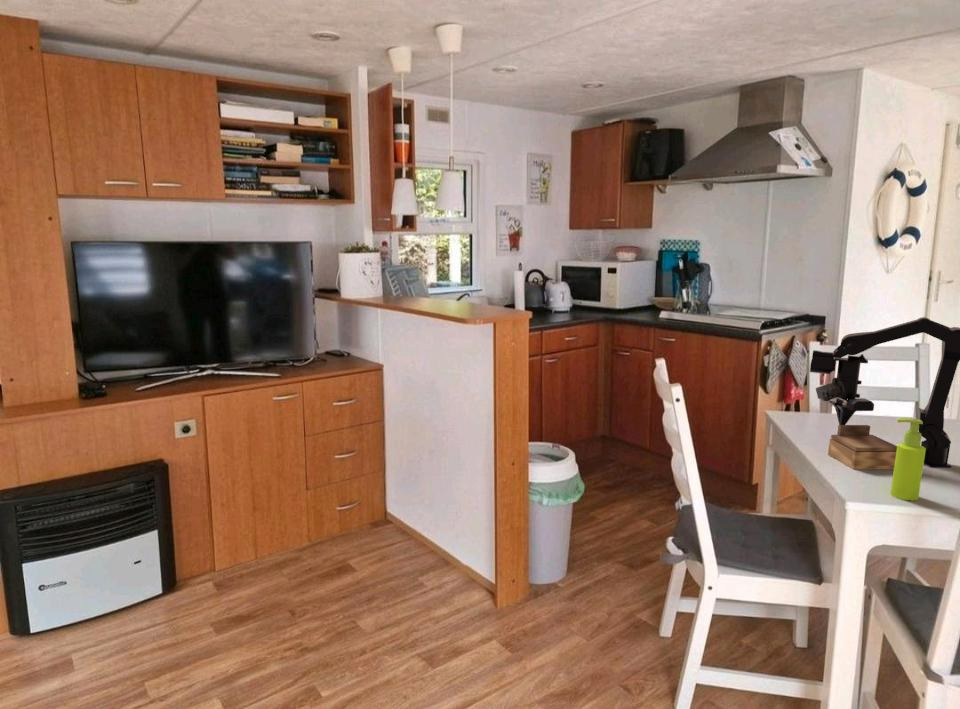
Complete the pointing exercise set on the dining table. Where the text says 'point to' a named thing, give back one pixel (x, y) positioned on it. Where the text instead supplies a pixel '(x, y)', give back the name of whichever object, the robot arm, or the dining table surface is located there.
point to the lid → (861, 439)
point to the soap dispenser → (908, 463)
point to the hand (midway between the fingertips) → (841, 426)
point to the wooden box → (861, 457)
